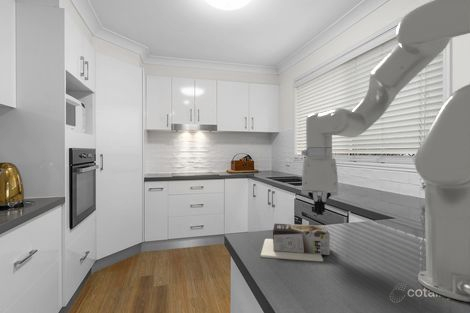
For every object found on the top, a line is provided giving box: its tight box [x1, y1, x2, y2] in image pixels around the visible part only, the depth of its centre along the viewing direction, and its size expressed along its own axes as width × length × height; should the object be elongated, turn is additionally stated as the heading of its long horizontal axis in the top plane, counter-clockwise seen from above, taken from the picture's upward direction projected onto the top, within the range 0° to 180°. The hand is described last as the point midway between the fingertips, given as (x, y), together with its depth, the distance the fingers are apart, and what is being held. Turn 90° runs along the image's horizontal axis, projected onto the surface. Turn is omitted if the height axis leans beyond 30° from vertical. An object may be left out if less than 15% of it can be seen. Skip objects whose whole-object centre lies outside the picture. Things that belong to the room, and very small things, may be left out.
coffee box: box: [272, 223, 331, 256], centre depth 78 cm, size 9×6×16 cm
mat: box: [260, 238, 324, 262], centre depth 78 cm, size 16×17×1 cm
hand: (319, 214), depth 77 cm, fingers closed
